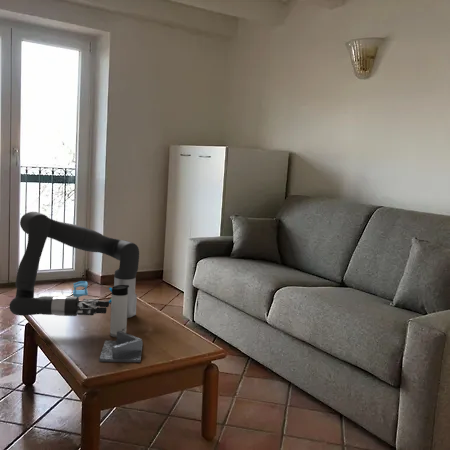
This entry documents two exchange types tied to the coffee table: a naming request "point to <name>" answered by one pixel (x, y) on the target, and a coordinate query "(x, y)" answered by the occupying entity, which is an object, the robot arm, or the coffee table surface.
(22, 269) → the robot arm
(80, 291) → the chair
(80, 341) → the coffee table surface
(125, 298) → the travel mug
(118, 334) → the v block
